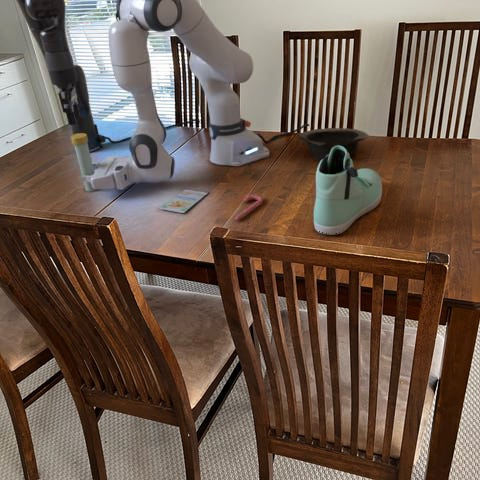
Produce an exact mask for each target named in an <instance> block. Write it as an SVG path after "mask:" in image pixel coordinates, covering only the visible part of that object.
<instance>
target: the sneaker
mask: <svg viewBox="0 0 480 480" xmlns="http://www.w3.org/2000/svg"><path fill="white" fill-rule="evenodd" d="M317 165H318V166H317V168H316V172H315V201H314V207H313V225H314V229H315V231H316V232H318V233H320V234H323V235H326V236H327V235H328V236H336V235H339V234H342V233H344V232H345V231H347V230H348V229H349V228H350V227H351V226H352V225H353V224H354V222H356V221H357V220H358V219H359V218H360V217H362V216H363V215H365V214H367V213H370V212H372V210H374V209H375V208H377V207H378V205H380V203H381V200H382V196H383V184H382V183H383V182H382V179H381V176H380V175H379V173H378V172H377V171H376V170H374V169H372V168H367V167H365V168H358V169H357V168H355V167H354V161H353V159H352V158H351V156H349V153H348V152H347V150H346V149H345V148H344V147H342V146H334V147H333V148H332V149H331V152H330V154H329V155H327V156H326V157H325V158H324V159H322V160H321V161H319V163H318V164H317ZM343 230H344V231H343ZM319 231H320V232H319ZM322 232H323V233H322ZM339 232H340V233H339ZM326 233H327V234H326ZM328 233H329V234H328ZM335 233H337V234H335Z"/></svg>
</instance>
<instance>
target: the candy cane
mask: <svg viewBox="0 0 480 480" xmlns="http://www.w3.org/2000/svg"><path fill="white" fill-rule="evenodd" d="M252 200H255V201H256V202H253V204H251V205H250V206H248V207H247V208H245V209H244V210H243V211H242V212H239V214H237V215H236V216H235V219H234V220H235V221H238V222H239V221H240V220H242V219H243V218H244V217H245V216H247V215H248V214H249V213H251V212H252V211H254V210H255V209H256V208H258V207H259V206H260V205H262V204H263V202H264V199H263V197H262V196H260V195H257V194H251V195H247V196H245V197H243V203H245V204H246V203H248V202H249V201H252Z"/></svg>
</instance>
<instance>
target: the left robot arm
mask: <svg viewBox="0 0 480 480" xmlns="http://www.w3.org/2000/svg"><path fill="white" fill-rule="evenodd" d="M15 1H16V3H17V5H18V7H19V9H20V11H21V13H22V15H23V17H24V19H25V22H26V24H27V26H28V28H29V30H30V33H31V34H32V36H33V38H34V40H35V42H36V43H37V45H38V48H39V49H40V51H41V54H42V56H43V58H44V60H45V63H46V66H47V70H48V74H49V77H50V81H51V84H52V85H53V86H56V88H57V89H58V90H59V92H58V94H57V95H58V97H59V102H60V106H61V109H62V112H63V114H65V116H66V120H67V123H68V125H69V126H70V130H71V133H72V135H75V134H79V133H85V134H87V138H88V142H87V144H88V148H89V152H90V153H92V152H96V151H97V150H99V149H100V148H102V144H103V143H106V141H107V140H108V141H109V142H110V143H111V144H118V143H122V142H126V141H130V140H131V138H132V136H128V137H125V138H122V139H120V140H112V139H111V138H110V137H109V136H105V135H103V134H100V133H99V129H98V125H97V123H95V121H94V116H93V113H92V108H91V104H90V95H89V89H88V84H87V79H86V74H85V70H84V69H83V67H82V66H81V65H78V64H75V63H74V58H73V56H72V53H71V50H70V46H69V42H68V38H67V31H66V1H65V0H15ZM193 122H197V123H201V120H199V119H197V118H193V119H190V120H188V121H183V122H180V123H175V124H172V125H167V126H164V127H165V129H166V130H167V129H171V128H174V127H179V126H183V125H188V124H191V123H193Z"/></svg>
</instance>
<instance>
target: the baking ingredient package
mask: <svg viewBox="0 0 480 480" xmlns="http://www.w3.org/2000/svg"><path fill="white" fill-rule="evenodd" d="M207 194H208V192H206V191H199V190H194V189H188V188H184V189H183V190H182V191H180V192H179V193H177V194H176V195H175V196H174V197H173V198H171V199H169V200H168V201H167V202H165V203H164V204H163V205H161V206H160V207H159V208H158V209H160V210H166V211H169V212H175V213H180V214H184V213H186V212H187V211H188V210H190V208H192V207H193V206H194V205H195V204H196V203H198V202H199V201H200V200H202V198H204V197H205V196H206V195H207Z"/></svg>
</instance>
